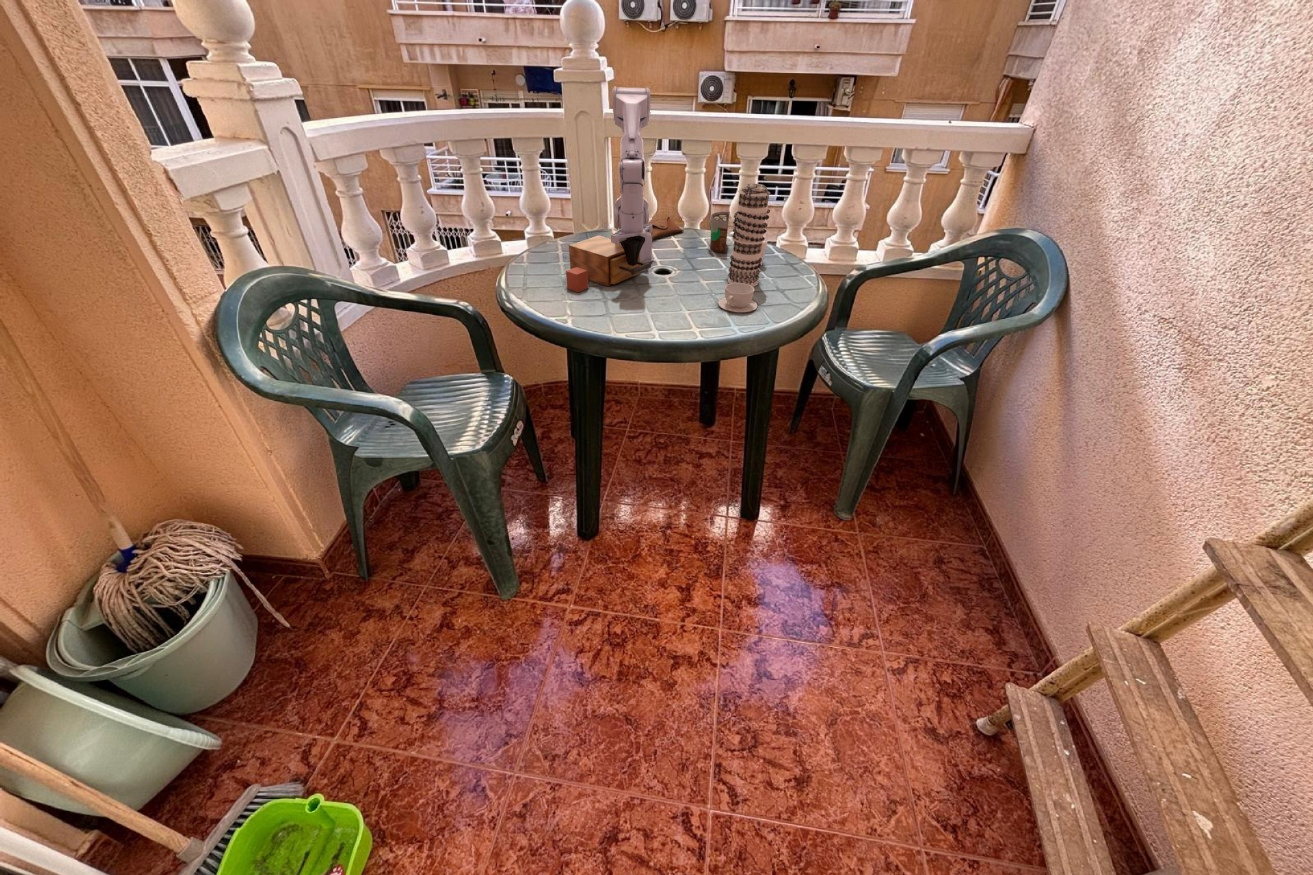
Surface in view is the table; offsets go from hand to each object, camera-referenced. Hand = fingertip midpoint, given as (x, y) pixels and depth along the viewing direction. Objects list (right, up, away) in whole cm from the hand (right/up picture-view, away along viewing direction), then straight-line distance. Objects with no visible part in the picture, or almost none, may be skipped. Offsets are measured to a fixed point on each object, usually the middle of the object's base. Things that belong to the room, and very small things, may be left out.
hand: (632, 264), depth 143 cm
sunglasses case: (+7, +23, +40) cm, 46 cm away
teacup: (+27, -13, -7) cm, 31 cm away
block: (-15, -7, -1) cm, 16 cm away
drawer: (-5, -1, +5) cm, 7 cm away
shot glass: (+36, +6, +19) cm, 41 cm away
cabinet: (-9, 0, +8) cm, 12 cm away
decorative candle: (+31, -3, +6) cm, 32 cm away
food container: (+26, +15, +30) cm, 42 cm away
